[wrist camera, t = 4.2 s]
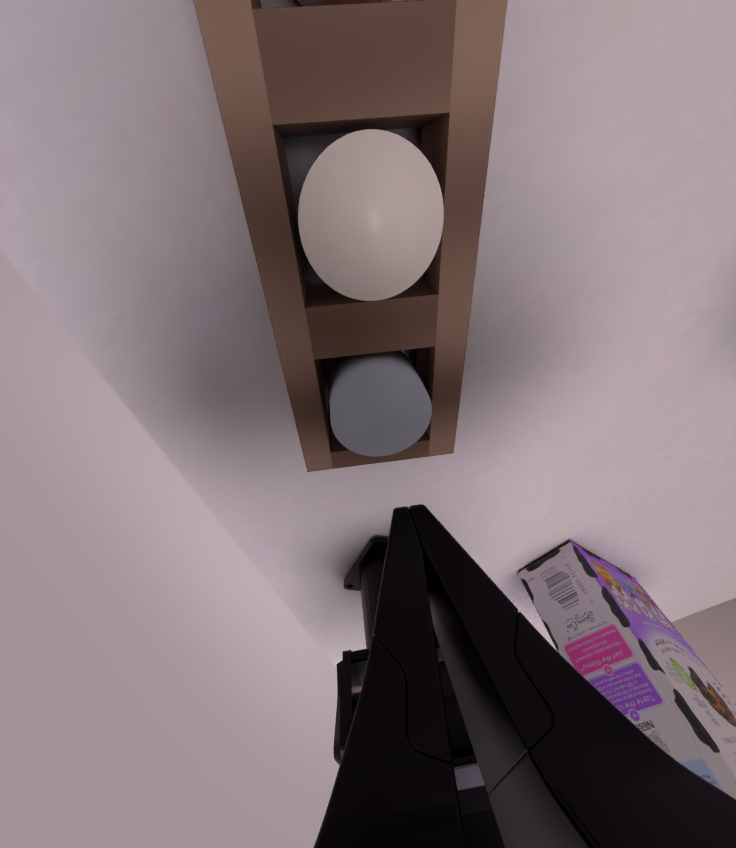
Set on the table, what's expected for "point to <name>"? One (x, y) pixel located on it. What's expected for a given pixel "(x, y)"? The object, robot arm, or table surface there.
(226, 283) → the table surface
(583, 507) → the table surface
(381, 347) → the button panel
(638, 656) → the candy box
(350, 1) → the button terracotta
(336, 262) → the button cream
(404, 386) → the button grey
